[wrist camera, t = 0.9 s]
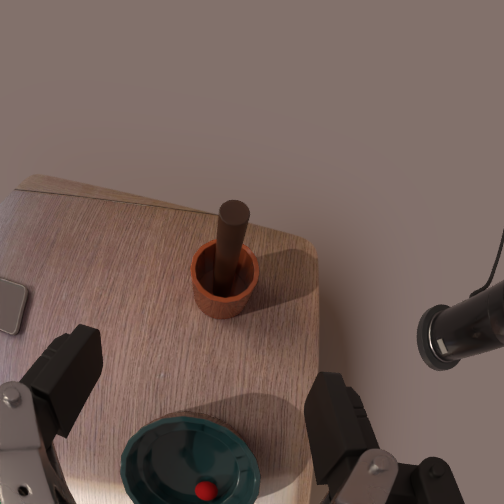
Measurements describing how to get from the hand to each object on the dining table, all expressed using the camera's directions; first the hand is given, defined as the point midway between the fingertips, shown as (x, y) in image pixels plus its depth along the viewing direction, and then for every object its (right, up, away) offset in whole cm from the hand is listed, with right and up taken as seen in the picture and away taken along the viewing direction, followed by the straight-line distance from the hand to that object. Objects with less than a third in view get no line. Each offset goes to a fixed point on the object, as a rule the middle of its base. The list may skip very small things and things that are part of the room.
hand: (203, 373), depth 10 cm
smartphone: (-38, -3, +21) cm, 43 cm away
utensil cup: (-2, -1, +28) cm, 28 cm away
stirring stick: (-2, -1, +27) cm, 27 cm away
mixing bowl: (-5, -21, +18) cm, 28 cm away
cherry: (-3, -23, +15) cm, 27 cm away
